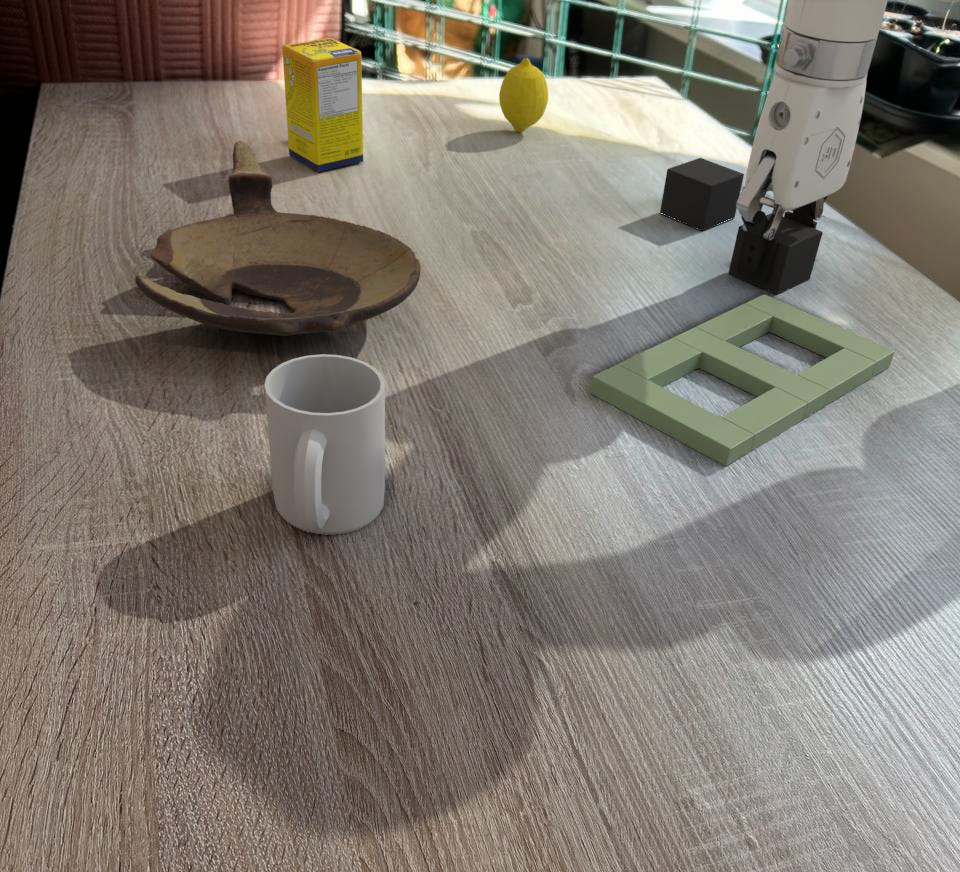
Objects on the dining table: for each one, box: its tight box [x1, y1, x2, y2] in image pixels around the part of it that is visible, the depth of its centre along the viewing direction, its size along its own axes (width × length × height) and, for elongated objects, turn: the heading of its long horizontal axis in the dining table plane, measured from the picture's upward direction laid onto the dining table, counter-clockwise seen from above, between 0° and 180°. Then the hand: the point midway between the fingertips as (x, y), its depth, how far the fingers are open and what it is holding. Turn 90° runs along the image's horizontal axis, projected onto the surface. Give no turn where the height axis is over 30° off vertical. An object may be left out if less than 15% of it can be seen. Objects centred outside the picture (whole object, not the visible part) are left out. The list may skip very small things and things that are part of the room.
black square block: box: [659, 157, 745, 232], centre depth 111 cm, size 6×6×4 cm
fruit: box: [498, 56, 549, 133], centre depth 125 cm, size 6×6×8 cm
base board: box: [589, 293, 896, 467], centre depth 88 cm, size 23×13×2 cm, turn 135°
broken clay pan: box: [134, 140, 421, 337], centre depth 91 cm, size 22×30×8 cm
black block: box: [728, 213, 824, 295], centre depth 101 cm, size 6×6×4 cm
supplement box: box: [281, 37, 364, 173], centre depth 114 cm, size 6×6×11 cm
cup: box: [264, 353, 386, 536], centre depth 68 cm, size 7×10×9 cm
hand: (771, 265), depth 102 cm, fingers closed on black block, 5 cm apart
